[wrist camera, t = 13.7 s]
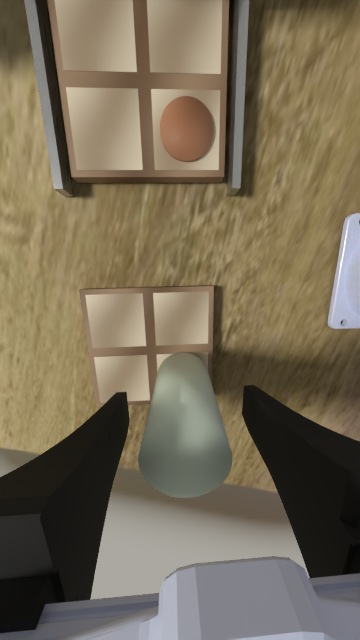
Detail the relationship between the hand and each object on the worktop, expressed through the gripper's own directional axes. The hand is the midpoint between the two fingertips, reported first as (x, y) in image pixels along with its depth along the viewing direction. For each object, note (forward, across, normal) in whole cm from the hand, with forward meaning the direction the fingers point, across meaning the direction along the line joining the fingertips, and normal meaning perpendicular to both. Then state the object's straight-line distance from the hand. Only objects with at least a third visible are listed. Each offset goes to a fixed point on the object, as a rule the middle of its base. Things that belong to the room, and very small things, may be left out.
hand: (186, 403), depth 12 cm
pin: (+3, 0, 0) cm, 3 cm away
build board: (+4, +2, -2) cm, 5 cm away
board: (+4, +2, -18) cm, 18 cm away
